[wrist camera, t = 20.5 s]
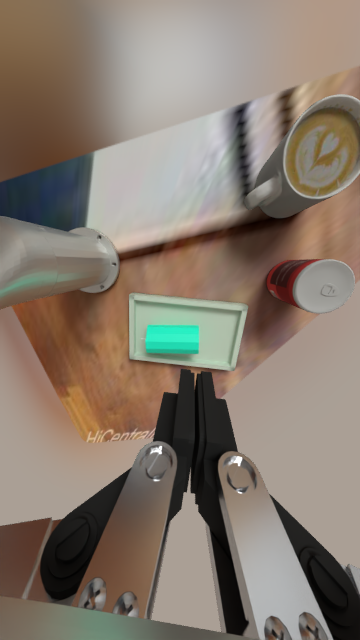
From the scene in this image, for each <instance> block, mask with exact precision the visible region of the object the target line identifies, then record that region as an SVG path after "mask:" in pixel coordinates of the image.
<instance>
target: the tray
mask: <svg viewBox="0 0 360 640" xmlns="http://www.w3.org/2000/svg"><path fill="white" fill-rule="evenodd" d="M247 310H248V306H247V305H246V304H244V303H234V302H224V301H214V300H204V299H194V298H184V297H174V296H164V295H154V294H144V293H134V292H133V293H131V294H129V344H130V359H135V360H143V361H152V362H161V363H169V364H178V365H187V366H195V367H204V368H213V369H221V370H230V371H234V370H235V366H236V361H237V356H238V352H239V347H240V343H241V338H242V333H243V329H244V324H245V320H246V315H247ZM148 325H199V354H172V353H147V352H146V345H145V340H146V333H147V326H148ZM141 338H144V339H141Z"/></svg>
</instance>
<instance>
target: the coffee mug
mask: <svg viewBox="0 0 360 640" xmlns="http://www.w3.org/2000/svg"><path fill="white" fill-rule="evenodd" d="M359 174H360V100H358V99H357V98H355V97H353V96H350V95H341V94H338V95H333V96H329V97H326V98H323V99H321V100H319V101H317V102H316V103H314V104H313V105H312V106H310V107H309V108H308V109H307V110H306V111H305V112H304V113H303V114H302V115H301V116H300V117H299V118H298V120H297V121H296V122H295V123H294V125H293V126H292V127H291V129H290V130H289V132H288V133H287V134H286V136H285V137H284V138H283V140H282V141H281V143H280V144H279V145H278V147H277V148H276V149H275V151H274V152H273V153H272V155H271V156H270V158H269V159H268V160H267V162H266V163H265V164H264V166H263V167H262V169H261V171H260V173H259V175H258V178H257V181H256V187H255V189H254V190H253V191H252V192H250V193H249V194H248V195H247V197H246V198H245V206H246V208H247V209H248V210H251V209H253V208H255V207H257V206H259V207H260V208H261V210H262V211H263V212H264V213H265V214H267V215H269V216H271V217H274V218H286V217H289V216H292V215H294V214H296V213H298V212H300V211H302V210H304V209H307V208H309V207H311V206H313V205H315V204H317V203H319V202H321V201H323V200H326V199H328V198H330V197H332V196H334V195H336V194H337V193H339V192H341V191H342V190H344V189H345V188H346V187H347V186H349V185H350V184H351V183H352V182H353V181H354V180H355V179H356V177H357V176H358V175H359Z"/></svg>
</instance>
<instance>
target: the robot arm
mask: <svg viewBox="0 0 360 640" xmlns="http://www.w3.org/2000/svg"><path fill="white" fill-rule="evenodd" d="M101 237H102V238H101ZM115 263H116V266H115ZM119 270H120V262H119V256H118V253H117V251H116V249H115V247H114V245H113V244H112V242H111V241H110V240H109V239H108V238H107V237H106V236H105V235H103V234H102V233H100V232H98V231H96V230H94V229H90V228H83V227H82V228H76V229H73V230H71V231H69V232H66V231H62V230H58V229H53V228H49V227H45V226H41V225H37V224H32V223H28V222H24V221H20V220H17V219H12V218H8V217H2V216H0V309H3V308H6V307H9V306H12V305H16V304H20V303H24V302H27V301H32V300H36V299H40V298H44V297H49V296H53V295H57V294H61V293H65V292H70V291H74V290H78V289H79V290H81V291H84V292H88V293H98V292H102V291H105V290H107V289H108V288H110V287H111V286H112V285H113V284H114V283H115V281H116V279H117V277H118V275H119ZM103 286H104V287H103ZM190 468H191V493H194V494H195V504H198V511H199V513H200V514H201V516H202V517H203V519H204V520H205V522H206V533H207V539H208V546H209V553H210V559H211V566H212V573H213V579H214V586H215V593H216V600H217V606H218V613H219V620H220V627H221V632H216V631H210V630H205V629H199V628H193V627H188V626H182V625H176V624H170V623H164V622H159V621H154V620H151V618H152V613H153V608H154V603H155V598H156V593H157V587H158V582H159V577H160V572H161V567H162V562H163V557H164V552H165V547H166V542H167V537H168V532H169V526H170V521H171V520H172V518H173V517H174V516H175V515H176V514H177V513H178V512H179V510H181V506H182V500H183V493H184V492H187V487H188V481H189V474H190ZM0 640H360V569H359V568H357V567H355V566H352V565H350V564H348V565H347V567H346V566H343V565H341V564H339V563H338V562H337V561H336V559H335V558H334V557H333V556H332V555H331V554H330V553H329V552H328V551H327V550H326V549H325V548H324V547H323V546H322V545H321V544H320V543H319V542H318V541H317V540H316V539H315V538H314V537H313V536H312V535H311V534H310V533H309V532H308V531H307V530H306V529H305V528H304V527H303V526H302V525H301V524H299V522H298V521H297V520H296V519H295V518H293V517H292V516H291V515H290V514H289V513H288V512H287V511H286V510H285V509H284V508H283V507H282V506H281V505H280V504H279V503H278V502H277V501H276V500H275V499H274V498H273V497H272V496H271V495H270V494H269V492H268V490H267V488H266V486H265V483H264V481H263V479H262V477H261V474H260V472H259V471H258V469H257V467H256V466H255V464H254V463H253V462H252V461H251V460H250V459H249V458H248V457H246V456H245V455H244V454H241V453H239V452H238V451H237V446H236V442H235V438H234V434H233V429H232V425H231V420H230V416H229V412H228V408H227V404H226V400H225V399H217V398H216V397H215V391H214V385H213V379H212V373H211V372H204V371H201V374H198V373H197V378H196V385H195V388H194V373H191V370H187V369H181V374H180V383H179V391H178V394H176V393H168V392H164V394H163V399H162V403H161V408H160V412H159V416H158V421H157V425H156V430H155V434H154V439H153V442H151V443H149V444H147V445H145V446H144V447H143V448H142V449H141V450H140V452H139V453H138V455H137V457H136V459H135V461H134V464H133V466H132V467H131V468H130V469H129V470H128V471H126V472H125V473H123V474H122V475H121V476H119V477H118V478H117V479H115V480H114V481H113V482H111V483H110V484H108V485H107V486H106V487H104V488H103V489H102V490H100V491H99V492H98V493H96V494H95V495H94V496H92V497H91V498H89V499H88V500H87V501H85V502H84V503H83V504H81V505H80V506H79V507H77V508H76V509H75V510H73V511H72V512H71V513H69V514H68V515H67V516H66V517H65V518H64V519H59V520H53V521H52V518H45V519H39V520H33V521H27V522H21V523H15V524H10V525H3V526H0Z"/></svg>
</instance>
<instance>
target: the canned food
mask: <svg viewBox="0 0 360 640" xmlns="http://www.w3.org/2000/svg"><path fill="white" fill-rule="evenodd" d="M354 286H355V277H354V273H353V271H352V270H351V268H350V267H349V266H348V265H347V264H345V263H343V262H341V261H338V260H332V259H313V260H287V261H284V262H281V263H279V264H278V265H276V266H275V267H274V268H273V269H272V270H271V271H270V273H269V274H268V277H267V287H268V290H269V292H270V293H271V294H272V295H273V296H274V297H275V298H278V299H280V300H282V301H284V302H287V303H289V304H291V305H293V306H296V307H298V308H300V309H303V310H305V311H308V312H311V313H319V314H322V313H327V312H331V311H333V310H335V309H337V308H339V307H340V306H342V305H343V304H344V303H345V302H346V301H347V300H348V299H349V297H350V296H351V294H352V292H353V290H354Z"/></svg>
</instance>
